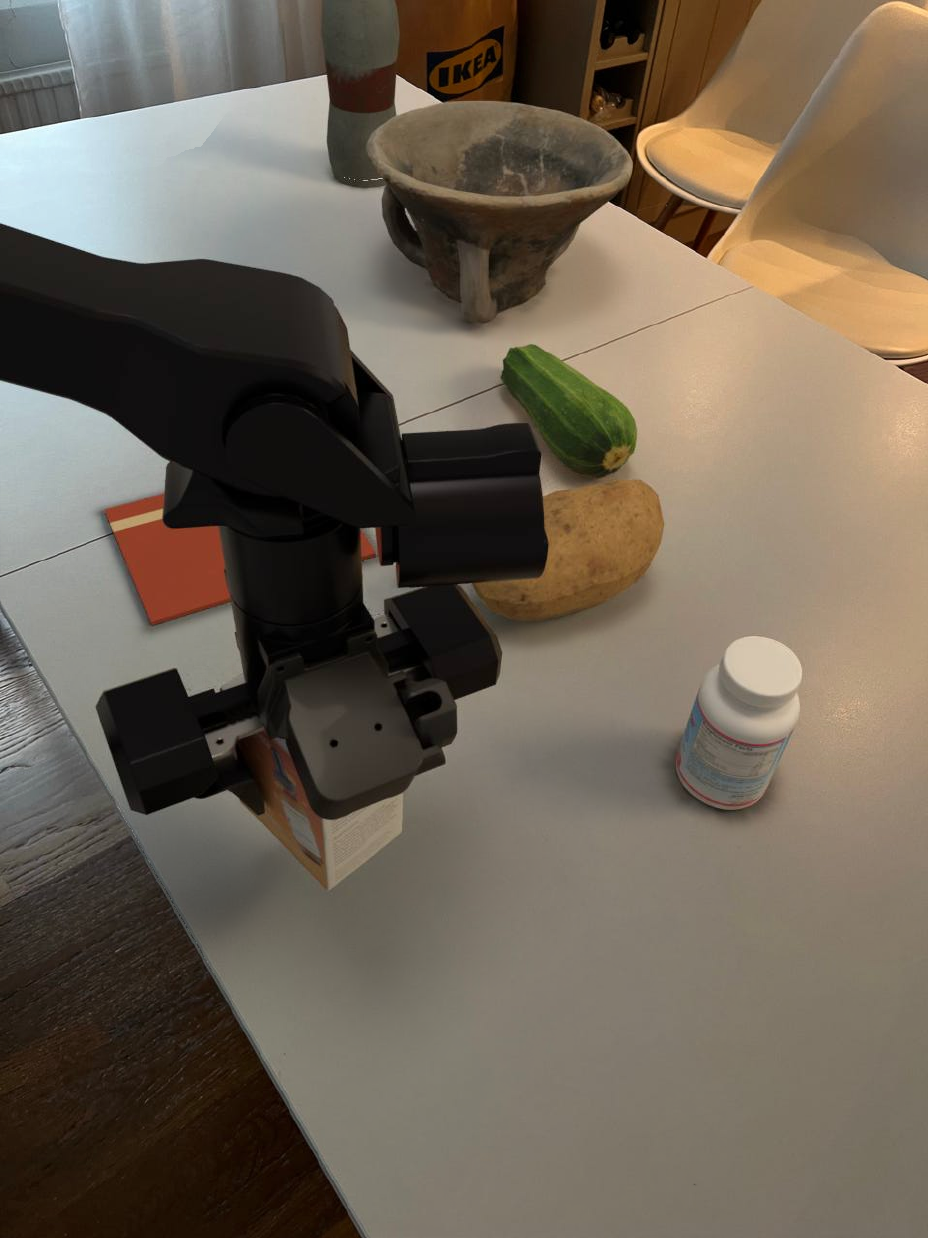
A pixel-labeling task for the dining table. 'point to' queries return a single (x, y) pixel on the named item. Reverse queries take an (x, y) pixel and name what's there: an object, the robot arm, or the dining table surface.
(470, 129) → the bowl
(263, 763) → the small box
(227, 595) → the tea towel
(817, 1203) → the dining table surface
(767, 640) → the pill bottle
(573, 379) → the vegetable
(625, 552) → the potato
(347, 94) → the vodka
